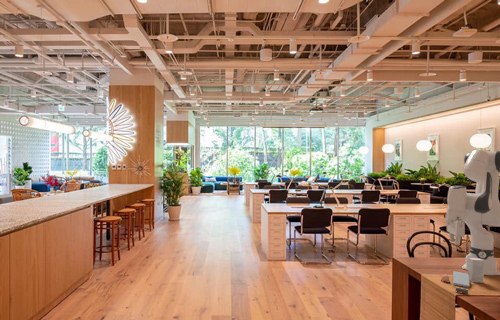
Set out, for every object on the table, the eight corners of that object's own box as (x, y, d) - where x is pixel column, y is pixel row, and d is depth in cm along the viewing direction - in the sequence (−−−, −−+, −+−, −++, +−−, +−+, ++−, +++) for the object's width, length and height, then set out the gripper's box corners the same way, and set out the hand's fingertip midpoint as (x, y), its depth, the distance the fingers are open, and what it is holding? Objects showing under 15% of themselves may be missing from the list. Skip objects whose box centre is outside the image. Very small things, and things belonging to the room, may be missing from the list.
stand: (441, 279, 187) (441, 278, 187) (449, 281, 185) (449, 280, 185) (440, 281, 183) (441, 280, 183) (449, 283, 181) (449, 282, 181)
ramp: (452, 278, 189) (453, 270, 189) (467, 281, 186) (468, 273, 186) (453, 285, 179) (453, 276, 179) (469, 288, 175) (469, 279, 175)
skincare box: (478, 280, 189) (479, 258, 190) (483, 283, 185) (484, 260, 185) (467, 279, 190) (468, 257, 190) (471, 282, 185) (473, 259, 185)
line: (453, 286, 176) (453, 286, 176) (469, 289, 173) (469, 289, 173) (453, 286, 176) (453, 286, 176) (469, 290, 172) (469, 289, 172)
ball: (441, 279, 186) (441, 273, 186) (449, 281, 185) (449, 274, 185) (441, 281, 183) (441, 274, 183) (449, 283, 181) (449, 276, 181)
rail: (455, 291, 169) (455, 287, 169) (467, 294, 167) (468, 289, 167) (455, 292, 168) (455, 288, 168) (467, 294, 166) (468, 290, 166)
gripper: (469, 218, 171) (467, 247, 171) (457, 215, 191) (456, 241, 190) (454, 217, 173) (453, 245, 172) (444, 214, 193) (443, 239, 192)
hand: (454, 243), depth 181 cm, fingers open, 8 cm apart
